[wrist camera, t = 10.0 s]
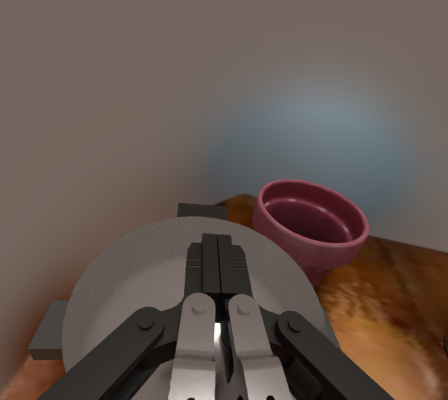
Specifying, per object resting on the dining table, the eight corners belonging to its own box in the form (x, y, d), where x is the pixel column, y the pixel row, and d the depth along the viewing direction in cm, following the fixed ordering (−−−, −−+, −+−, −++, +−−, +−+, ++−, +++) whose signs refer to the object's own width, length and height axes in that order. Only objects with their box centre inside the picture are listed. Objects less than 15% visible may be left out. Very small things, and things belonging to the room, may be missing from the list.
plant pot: (256, 228, 47) (274, 167, 40) (333, 260, 43) (368, 199, 36) (224, 285, 36) (241, 214, 28) (324, 334, 32) (373, 267, 25)
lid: (119, 210, 26) (118, 194, 25) (275, 222, 29) (280, 208, 28) (-2, 494, 11) (-20, 485, 10) (365, 465, 13) (384, 456, 12)
